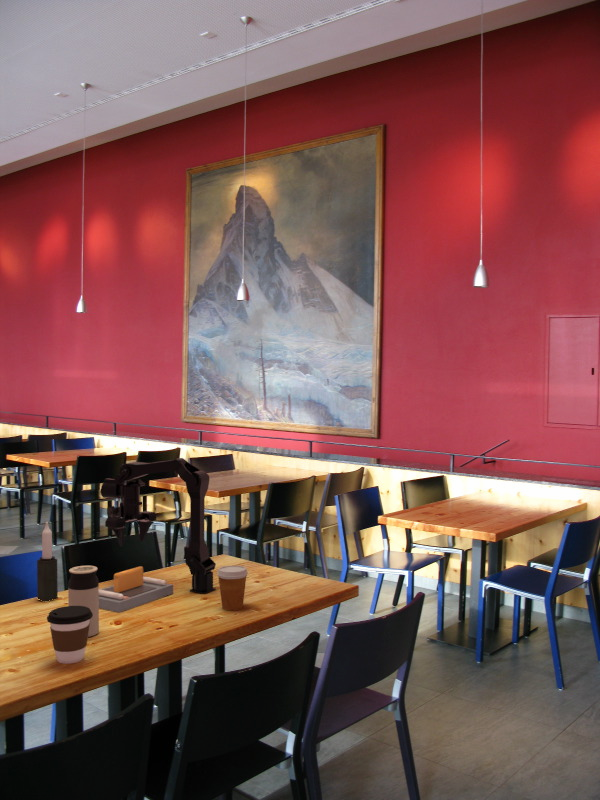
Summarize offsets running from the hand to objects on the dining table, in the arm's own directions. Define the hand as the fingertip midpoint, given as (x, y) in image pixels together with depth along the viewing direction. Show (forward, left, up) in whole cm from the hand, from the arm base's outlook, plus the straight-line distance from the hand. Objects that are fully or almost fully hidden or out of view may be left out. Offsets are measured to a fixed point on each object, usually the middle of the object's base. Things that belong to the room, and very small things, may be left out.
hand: (131, 544), depth 254 cm
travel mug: (-26, +44, -14) cm, 53 cm away
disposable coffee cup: (-46, +3, -14) cm, 48 cm away
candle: (+10, +27, -14) cm, 32 cm away
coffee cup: (-38, +59, -14) cm, 72 cm away
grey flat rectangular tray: (-12, +13, -14) cm, 23 cm away
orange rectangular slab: (-12, +13, -11) cm, 21 cm away
